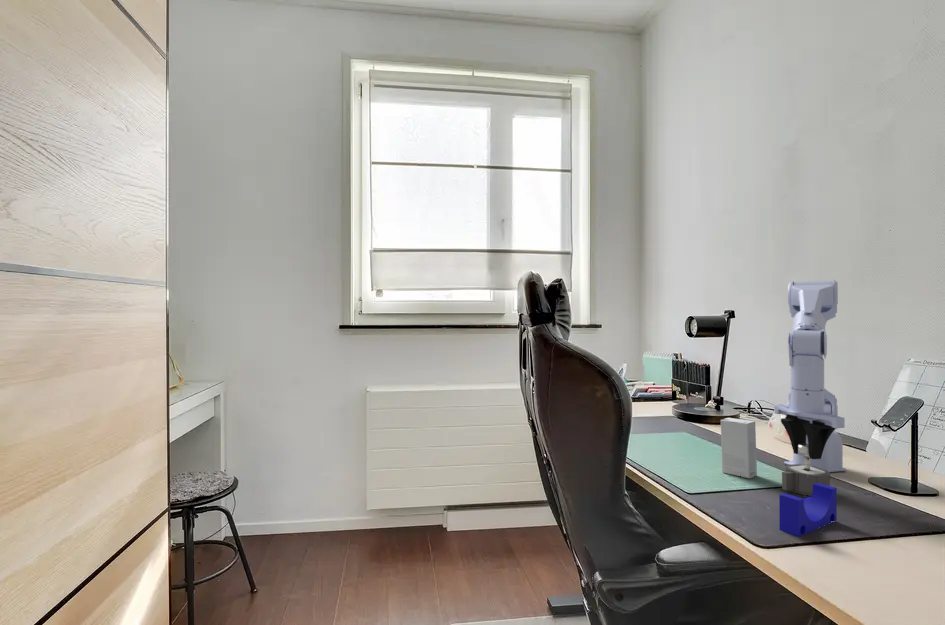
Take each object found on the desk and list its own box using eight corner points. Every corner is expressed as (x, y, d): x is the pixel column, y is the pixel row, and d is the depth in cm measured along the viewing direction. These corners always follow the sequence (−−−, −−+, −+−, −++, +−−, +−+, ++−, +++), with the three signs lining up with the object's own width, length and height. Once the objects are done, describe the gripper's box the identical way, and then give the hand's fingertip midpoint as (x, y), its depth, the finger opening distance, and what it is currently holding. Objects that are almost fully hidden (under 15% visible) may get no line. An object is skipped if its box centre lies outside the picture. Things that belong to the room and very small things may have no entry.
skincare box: (757, 475, 111) (757, 421, 111) (749, 479, 109) (749, 423, 109) (729, 468, 116) (729, 416, 116) (720, 472, 113) (720, 419, 113)
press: (806, 483, 106) (806, 463, 106) (838, 495, 99) (838, 474, 99) (769, 486, 104) (769, 466, 104) (799, 499, 97) (799, 477, 97)
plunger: (806, 470, 104) (806, 442, 104) (820, 475, 101) (820, 446, 101) (793, 471, 103) (793, 443, 103) (807, 476, 100) (807, 447, 100)
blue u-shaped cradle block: (808, 513, 91) (808, 480, 91) (836, 522, 87) (836, 487, 87) (770, 527, 85) (770, 491, 85) (798, 537, 81) (798, 500, 81)
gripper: (762, 384, 108) (762, 447, 108) (823, 395, 94) (823, 468, 94) (789, 383, 110) (789, 445, 110) (853, 394, 96) (853, 465, 96)
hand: (807, 456), depth 102 cm, fingers closed on plunger, 3 cm apart
